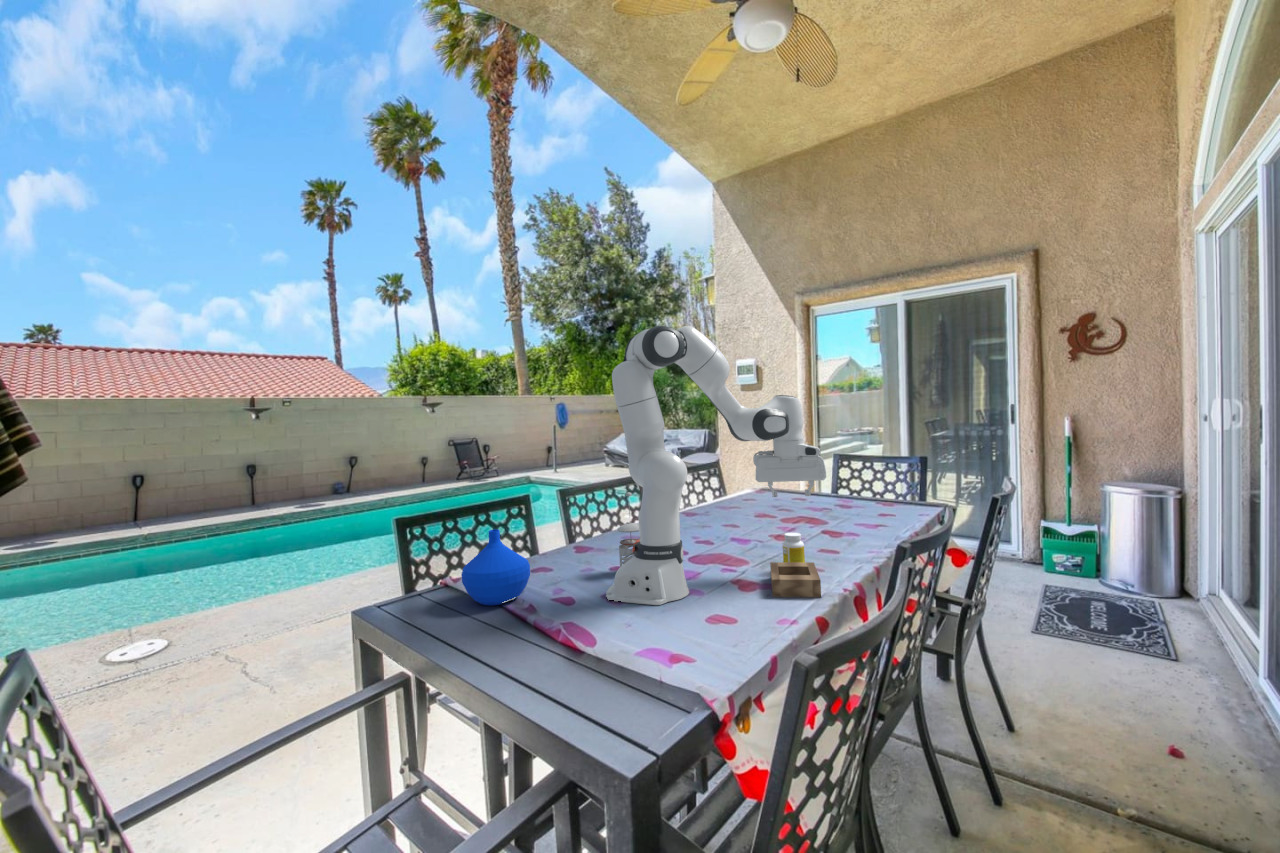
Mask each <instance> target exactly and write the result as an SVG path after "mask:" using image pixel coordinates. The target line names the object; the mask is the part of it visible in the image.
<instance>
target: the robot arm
mask: <svg viewBox="0 0 1280 853" xmlns="http://www.w3.org/2000/svg"><path fill="white" fill-rule="evenodd" d="M673 364H676V365H678V366H679V367H680V368H681V369H682V370H683V371H684V373H685V374H686V375H687V376H688V377H689V378H690V379H691V380H692V381H693V382H694V383H695V384H696V385H697V386H698V387H699V388H700V390H701V391H702V392H703V394H704V395H705V397H706V398H707V399H708V400H709V402H710V403H711V404H712V406H714V407H715V408H716V410H717V411H718V412H719V414H720V415H721V416H722V417H723V419H724V420H725V422H726V425H727V427H728V429H729V432H730V434H731V435H732V436H733V438H734V439H736V440H737V441H740V442H752V441H753V442H768V441H771V440H772V445H773V450H764V451H762V450H759V451H757V452H756V453H754V454H753V458H752V460H753V461H752V462H753V465H754V466H755V481H756V482H757V483H767V486H768V488H769V489H770V491H771V495H772V498H778V490H775V489H774V488H773V485H774V483H782V482H784V483H785V482H808V484H809V486H808V487H807V489H804V496H805V497H811V491H812V489H813V487H814V485H815V481H817V482H818V481H819V482H820V481H825V480H826V478H827V469H826V465H825V460H824V458H822V456H821V449H820V447H818V446H815V445H811V444H809V443H805V438H804V435H803V426H804V418H803V417H804V416H803V409H802V404H801V401H800V399H799V398H797V397H796V396H794V395H789V394H785V395H784V394H779V395H774V396H773V397H772V398H771V399H770V400H769V401H768V402H767V403H765V404H763V405H762V406H759V407H757V408H750V407H746V406H743V405H742V404H741V403H740V402H739V400H737V399H736V397H735V396H734V395H733V394H732V392H731V391H730V390H729V389H728V386H727V385H726V381H727V380H728V378H729V375H730V363H729V362H728V359H727V357H726V356H725V354H723V352H722V351H721V350H720V349H719V348H718V347H717V346H716V345H715V344H714V342H712V340H710V339H709V338H708V337H707V336H706V335H704V334H703V333H702V332H700V330H698V329H696V328H695V327H694V326H691V325H685V326H681V327H678V328H677V329H675V328H673V327H670V326H667V325H655V326H653V327H651V328H647V329H643V330H641V331H640V332H638V333H636V334H635V335H633V336H632V337H631V338H630V339H629V340H628V342H627V344H626V346H625V350H624V357H623V360H622V362H620V363H619V364H617V365H616V366H615V367H614V369H613V370H612V373H611V380H612V391H613V396H614V399H615V400H614V401H615V406H616V408H617V411H618V414H619V419H620V422H621V425H622V429H623V433H624V437H625V443H626V444H625V445H626V453H627V460H628V472H629V475H630V478H632V480H633V481H634V482H635V484H636V485H638V486H640V487H642V498H641V503H640V508H639V510H638V516H637V517H638V524H639V531H638V532H639V533H638V534H639V539H640V540H636V542H635V543H634V545H633V546H632V547H631V549H633V550H632V551H633V555H634V556H633V557H632V558H631V559H630V560H628V561H627V562H626V563H625V564H622V565H623V566H621V567H620V566H619V568H618V570H617V571H616V573H615V576H614V580H613V584H612V585H611V586H610V587H608V588H607V589H606V593H605V598H606V597H607V599H608V600H607V599H606V600H607V601H609V600H614V601H613V602H618V601H621V602H620V603H630V604H640V605H650V606H651V605H653V606H661V605H663V604H665V603H668V602H673V601H678V600H681V599H684V598H686V597H687V596H688V595H689V594H690V589H689V587H688V584H687V580H686V576H685V571H684V570H685V569H684V566H683V561H684V545H683V541H682V539H681V528H680V527H681V525H680V524H681V523H680V511H681V510H680V509H681V500H682V493H683V489H684V488H683V487H684V486H685V484H686V482H687V480H688V468H687V464H686V463H685V462H684V461H683V460H682V458H680V457H679V456H678V455H677V454H675V453H673V452H670V451H666V447H665V438H664V437H665V436H664V429H665V421H664V417H663V413H662V409H661V406H660V403H659V399H658V396H657V395H658V394H657V392H656V389H655V387H654V373H655V371H658V370H660V369H663V368H665V367H669V366H670V365H673Z"/></svg>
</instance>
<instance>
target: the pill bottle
mask: <svg viewBox="0 0 1280 853" xmlns="http://www.w3.org/2000/svg"><path fill="white" fill-rule="evenodd" d="M801 540H802V534H801V533H800V532H786V533H784V541H783V542H782V561H783V562H800V563H806V557H805V544H804V542H803V541H801Z"/></svg>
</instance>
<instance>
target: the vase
mask: <svg viewBox="0 0 1280 853" xmlns="http://www.w3.org/2000/svg"><path fill="white" fill-rule="evenodd" d="M487 532H488V542H487V544H486V545H485V547H484V548H483V549H482V550H481V551H480V552H478V553H477V555H475V556H474V557H473V558H472V559H470V560H469V562H468V563H467V564H465V565H464V566H463V567H462V568H463V569H462V572H461V582H462V585H463V587H464V589H465V590H466V593H467V594H468V595H469V596H470V597H471V598H472V600H474V601H475V602H476V603H479V604H480V605H483V606H499V605H500V606H501V605H502V604H501V603H502V602H504V601H507V600H509V599H512V598H514V597H517V596H518V597H519V596H520V595H521V594H522V593H523V591H525V588H526V587H527V585H528V582H529V579H530V577H531V565H530V562H529V560H528V559H527V558H525V557H524V556H522V555H520V554H519V553H518V552H516V551H514V550H513V549H511V548H510V547H508V546H506V545H505V544H504V542H502V541H501V540H502V539H501V534H500V533H501V532H500V529H490V530H488V531H487ZM518 597H517V598H518Z"/></svg>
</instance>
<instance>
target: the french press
mask: <svg viewBox="0 0 1280 853" xmlns="http://www.w3.org/2000/svg"><path fill="white" fill-rule="evenodd" d="M625 497H628V498H630V497H632V493H631V492H629V491H628V492H626V493H625ZM630 506H631V505H630V503H628V514H629V515H628V516H629V517H631V507H630ZM616 530H617V531H618V532H620V533H629V534H630V538H624V539H621V540H620V541H619V544H620V545H619V546H618V553H619V554H618V555H619V568H620V567H621V566H623V565H624V564H625V563H626V562H627V561H628V560H630V559H631V558H632V557H633V556H634V555H633V551H632V550H633V549H632V548H633V545H634V543H635V542H636V540H640V538H637V537H636V538H632V533H638V532H639V523H635V522H628V523H624V524H622V525H620V526H619V527H617V529H616Z"/></svg>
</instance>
